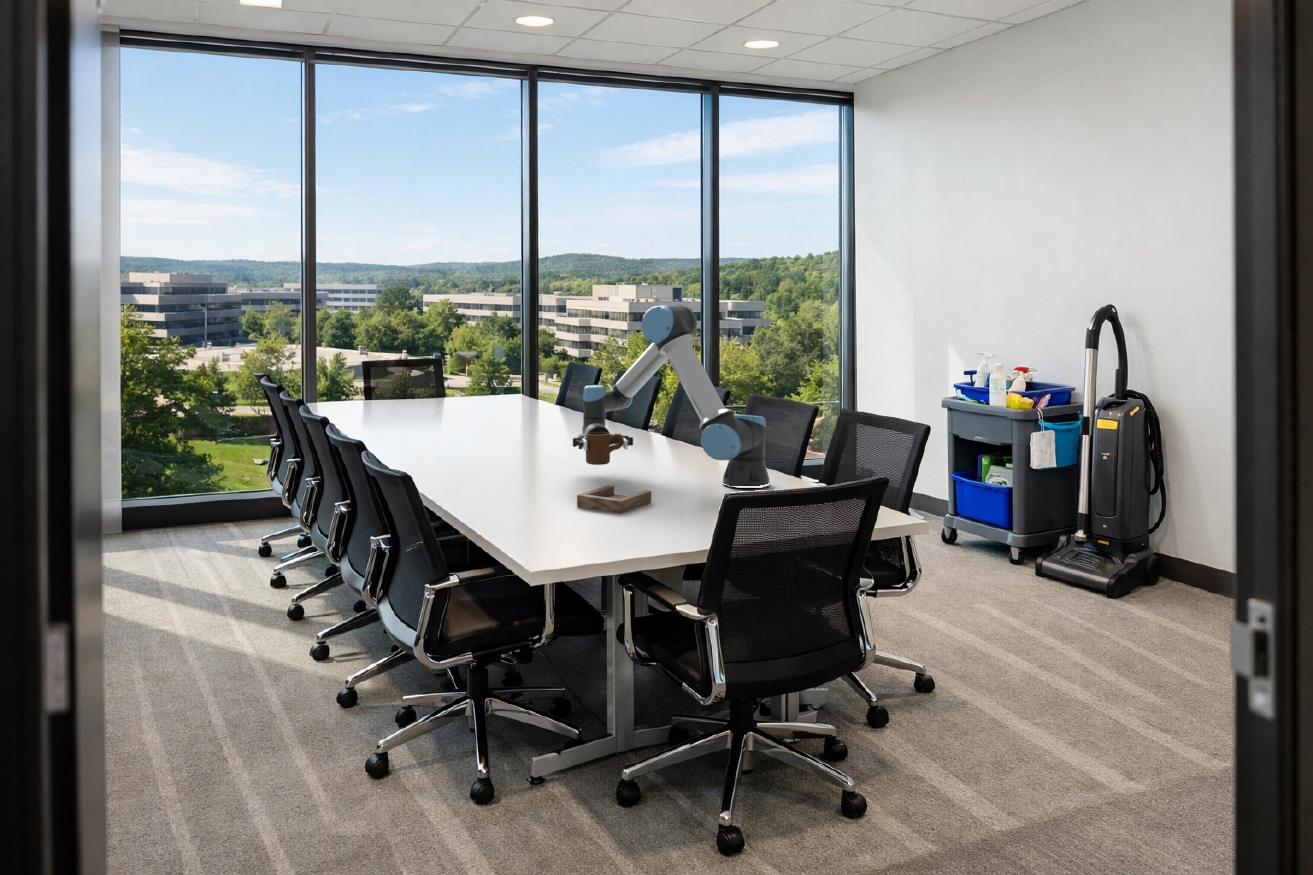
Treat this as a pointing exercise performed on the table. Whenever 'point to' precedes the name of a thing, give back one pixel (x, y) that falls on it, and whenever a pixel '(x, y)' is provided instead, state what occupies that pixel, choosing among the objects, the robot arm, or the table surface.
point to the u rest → (612, 500)
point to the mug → (601, 447)
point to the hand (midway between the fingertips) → (606, 445)
